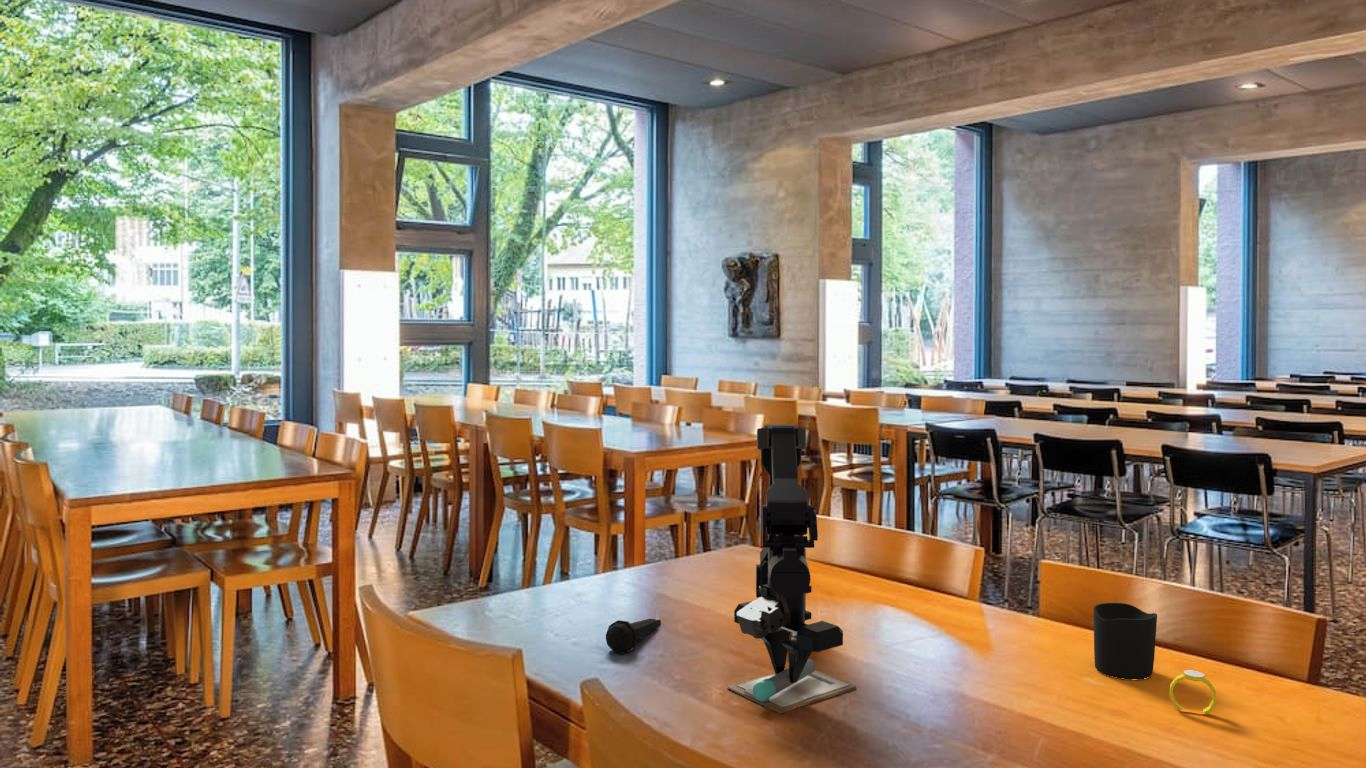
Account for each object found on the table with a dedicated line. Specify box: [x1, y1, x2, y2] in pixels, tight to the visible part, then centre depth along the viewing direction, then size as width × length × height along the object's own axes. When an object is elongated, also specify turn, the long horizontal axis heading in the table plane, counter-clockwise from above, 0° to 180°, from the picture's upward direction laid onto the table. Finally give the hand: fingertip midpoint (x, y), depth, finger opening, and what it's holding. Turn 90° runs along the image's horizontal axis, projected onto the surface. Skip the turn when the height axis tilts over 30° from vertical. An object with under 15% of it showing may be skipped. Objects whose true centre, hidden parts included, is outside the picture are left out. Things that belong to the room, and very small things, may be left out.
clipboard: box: [726, 669, 857, 714], centre depth 155 cm, size 16×12×1 cm
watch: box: [1169, 669, 1217, 714], centre depth 145 cm, size 6×3×6 cm, turn 64°
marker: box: [753, 658, 816, 701], centre depth 153 cm, size 16×3×3 cm, turn 144°
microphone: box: [605, 618, 662, 654], centre depth 179 cm, size 6×6×20 cm
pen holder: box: [1093, 602, 1158, 680], centre depth 161 cm, size 9×9×10 cm
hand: (786, 679), depth 153 cm, fingers open, 3 cm apart
